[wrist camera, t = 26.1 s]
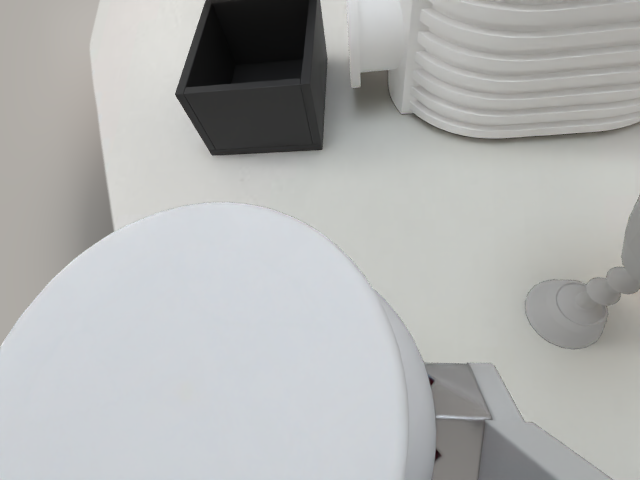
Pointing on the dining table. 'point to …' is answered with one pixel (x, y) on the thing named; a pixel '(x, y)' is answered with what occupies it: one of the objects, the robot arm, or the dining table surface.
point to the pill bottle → (213, 360)
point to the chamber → (257, 76)
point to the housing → (503, 62)
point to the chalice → (585, 297)
